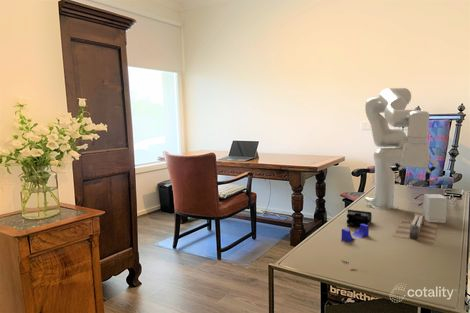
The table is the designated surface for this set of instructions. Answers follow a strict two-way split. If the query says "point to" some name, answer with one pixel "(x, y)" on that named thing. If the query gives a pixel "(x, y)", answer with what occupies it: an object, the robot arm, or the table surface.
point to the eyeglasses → (444, 196)
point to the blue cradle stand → (355, 233)
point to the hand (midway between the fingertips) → (413, 179)
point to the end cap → (358, 218)
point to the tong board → (423, 233)
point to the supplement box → (435, 208)
